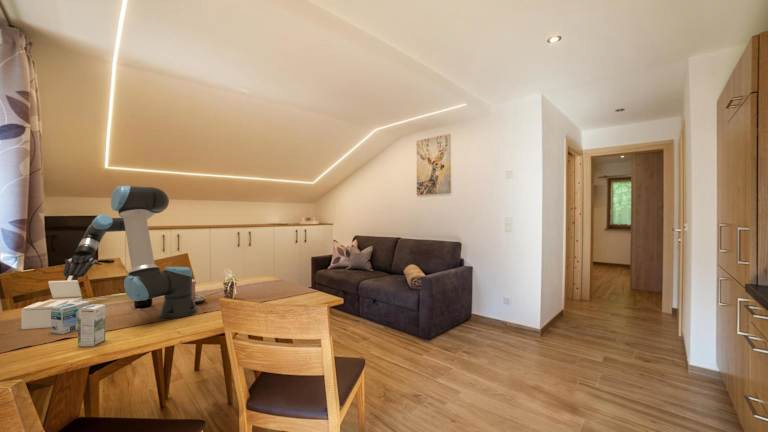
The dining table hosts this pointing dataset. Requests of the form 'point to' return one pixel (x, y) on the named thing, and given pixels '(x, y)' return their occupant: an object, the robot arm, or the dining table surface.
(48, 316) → the carton
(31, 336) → the dining table surface
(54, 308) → the light bulb box
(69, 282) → the flap
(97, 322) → the syrup box
